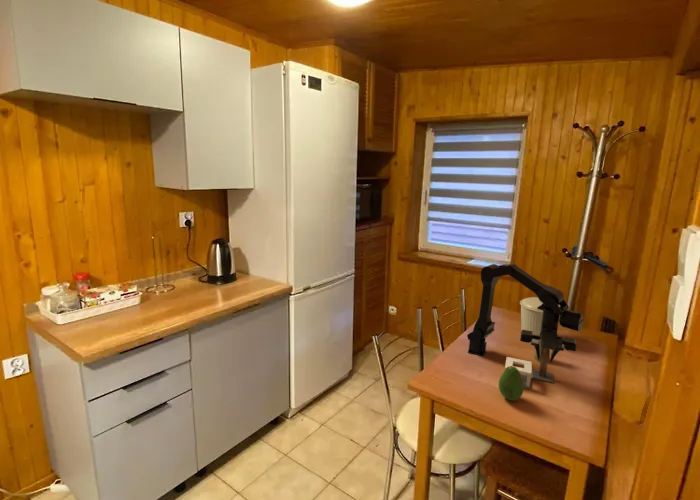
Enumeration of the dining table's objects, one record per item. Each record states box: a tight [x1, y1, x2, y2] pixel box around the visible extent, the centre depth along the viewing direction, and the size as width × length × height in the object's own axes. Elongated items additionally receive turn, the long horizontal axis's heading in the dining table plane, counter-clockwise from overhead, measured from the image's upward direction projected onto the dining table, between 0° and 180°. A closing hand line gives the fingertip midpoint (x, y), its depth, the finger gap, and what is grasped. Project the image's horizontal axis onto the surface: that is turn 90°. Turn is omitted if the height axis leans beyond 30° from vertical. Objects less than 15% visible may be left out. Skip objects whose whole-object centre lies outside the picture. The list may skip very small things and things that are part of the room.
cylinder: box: [538, 348, 549, 377], centre depth 150 cm, size 3×3×11 cm
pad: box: [532, 368, 554, 384], centre depth 151 cm, size 7×7×1 cm
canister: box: [519, 296, 560, 335], centre depth 182 cm, size 18×18×21 cm
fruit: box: [498, 365, 525, 401], centre depth 136 cm, size 8×8×12 cm
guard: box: [504, 356, 533, 390], centre depth 148 cm, size 9×9×6 cm
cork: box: [533, 335, 551, 364], centre depth 163 cm, size 6×6×11 cm
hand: (544, 360), depth 150 cm, fingers open, 4 cm apart
